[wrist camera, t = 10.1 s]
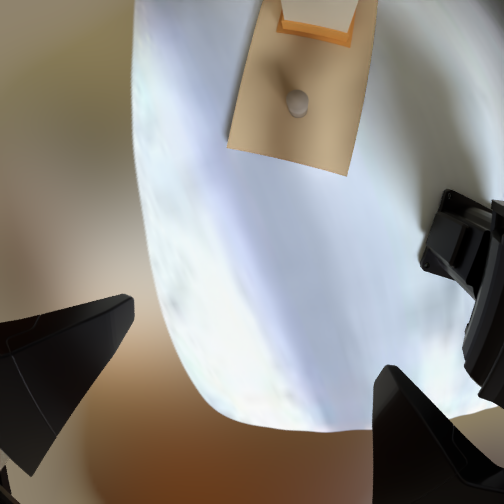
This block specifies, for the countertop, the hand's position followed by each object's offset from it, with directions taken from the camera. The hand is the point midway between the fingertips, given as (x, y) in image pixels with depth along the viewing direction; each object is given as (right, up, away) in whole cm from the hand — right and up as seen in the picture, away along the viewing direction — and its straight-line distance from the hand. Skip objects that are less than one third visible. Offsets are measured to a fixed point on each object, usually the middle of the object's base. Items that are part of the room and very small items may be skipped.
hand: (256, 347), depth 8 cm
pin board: (+4, +16, +7) cm, 18 cm away
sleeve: (+4, +19, +4) cm, 20 cm away
